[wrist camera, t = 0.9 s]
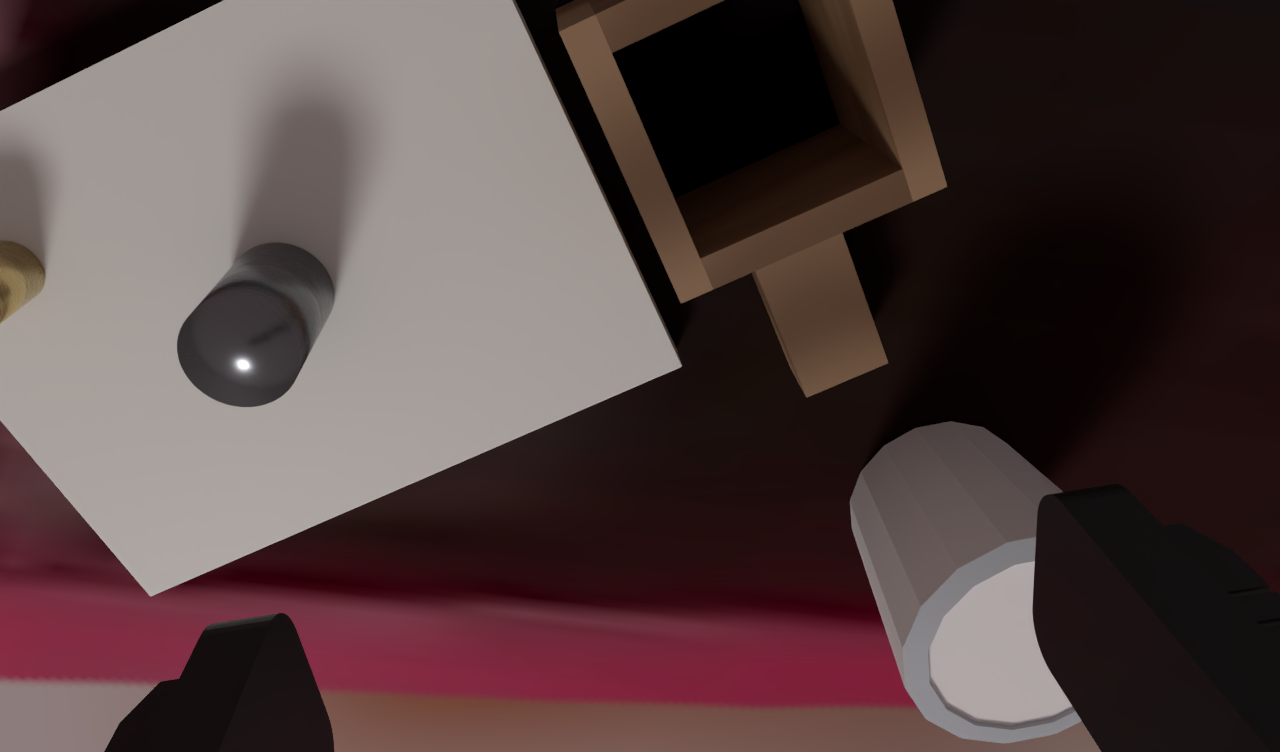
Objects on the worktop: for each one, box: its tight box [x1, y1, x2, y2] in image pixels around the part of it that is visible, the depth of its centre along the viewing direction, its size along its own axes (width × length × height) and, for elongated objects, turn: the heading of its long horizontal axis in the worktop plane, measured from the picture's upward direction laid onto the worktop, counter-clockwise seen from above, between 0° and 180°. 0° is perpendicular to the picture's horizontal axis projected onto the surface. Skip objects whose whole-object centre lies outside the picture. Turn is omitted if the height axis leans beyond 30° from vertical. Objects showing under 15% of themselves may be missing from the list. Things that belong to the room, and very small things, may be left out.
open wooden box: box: [556, 0, 947, 397], centre depth 24 cm, size 12×6×5 cm, turn 23°
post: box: [177, 242, 335, 407], centre depth 23 cm, size 3×3×4 cm
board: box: [0, 0, 682, 596], centre depth 26 cm, size 17×13×1 cm
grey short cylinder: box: [850, 421, 1082, 743], centre depth 28 cm, size 7×7×7 cm
